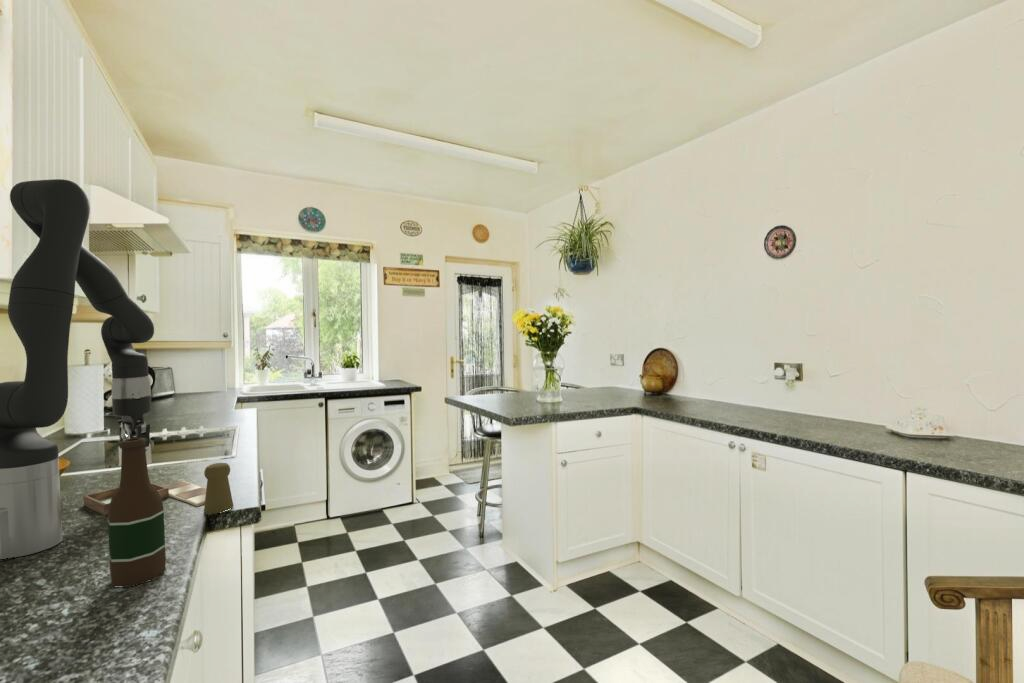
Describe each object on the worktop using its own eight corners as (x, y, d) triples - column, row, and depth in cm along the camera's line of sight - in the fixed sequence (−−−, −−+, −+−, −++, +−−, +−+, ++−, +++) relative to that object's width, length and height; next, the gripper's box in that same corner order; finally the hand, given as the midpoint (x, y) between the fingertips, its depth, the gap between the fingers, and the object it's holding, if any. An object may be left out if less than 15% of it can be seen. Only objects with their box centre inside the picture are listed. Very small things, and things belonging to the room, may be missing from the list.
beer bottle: (101, 593, 75) (94, 447, 74) (119, 571, 82) (113, 437, 81) (159, 582, 78) (153, 441, 77) (172, 561, 85) (166, 432, 84)
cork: (209, 516, 106) (207, 469, 105) (199, 511, 109) (197, 465, 109) (238, 508, 111) (236, 462, 110) (227, 503, 114) (225, 459, 114)
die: (127, 469, 112) (126, 448, 112) (119, 466, 115) (118, 445, 115) (152, 463, 117) (151, 443, 117) (144, 460, 120) (143, 441, 119)
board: (197, 506, 112) (197, 503, 112) (152, 490, 125) (152, 487, 125) (227, 497, 118) (227, 494, 118) (181, 482, 131) (181, 480, 131)
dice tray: (104, 515, 108) (104, 505, 108) (83, 505, 115) (83, 495, 114) (168, 497, 119) (168, 488, 119) (146, 489, 126) (146, 480, 126)
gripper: (102, 395, 116) (106, 462, 117) (123, 399, 108) (127, 471, 109) (139, 391, 122) (142, 454, 123) (161, 395, 114) (164, 462, 115)
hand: (135, 462), depth 116 cm, fingers closed on die, 5 cm apart
